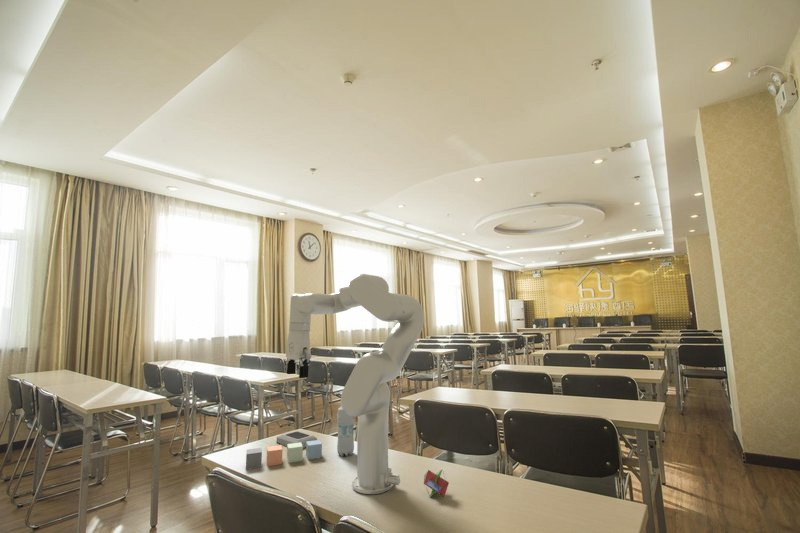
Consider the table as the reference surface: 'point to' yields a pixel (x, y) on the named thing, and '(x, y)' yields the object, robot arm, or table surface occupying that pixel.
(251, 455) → the gray block
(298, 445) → the sage-green block
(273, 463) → the terracotta block
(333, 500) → the table surface
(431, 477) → the geometric puzzle
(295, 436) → the gray dark-screened device
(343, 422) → the bottle
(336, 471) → the table surface
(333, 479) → the table surface
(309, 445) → the slate-blue block
